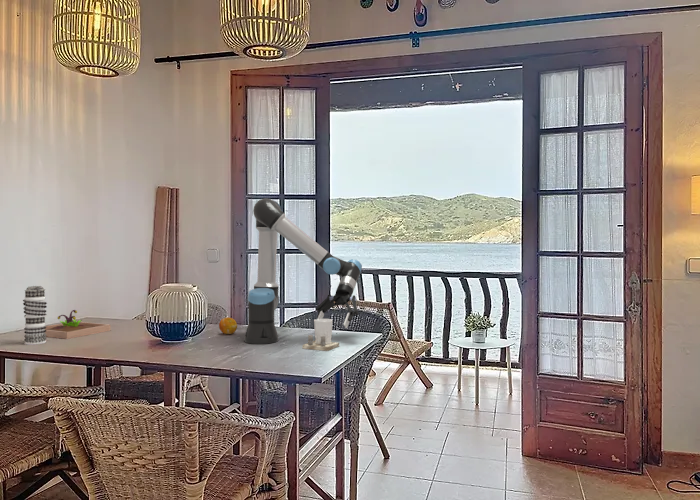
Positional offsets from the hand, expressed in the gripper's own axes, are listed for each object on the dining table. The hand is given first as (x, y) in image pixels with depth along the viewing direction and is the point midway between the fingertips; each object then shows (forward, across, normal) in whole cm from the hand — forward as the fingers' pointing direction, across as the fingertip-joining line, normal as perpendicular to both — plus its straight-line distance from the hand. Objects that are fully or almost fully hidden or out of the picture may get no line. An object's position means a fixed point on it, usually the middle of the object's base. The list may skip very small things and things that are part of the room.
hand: (331, 325), depth 247 cm
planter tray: (+26, +128, +16) cm, 132 cm away
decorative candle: (+44, +119, +34) cm, 132 cm away
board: (+12, 0, +1) cm, 12 cm away
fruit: (+6, +56, -6) cm, 57 cm away
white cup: (+10, 0, 0) cm, 10 cm away
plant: (+26, +129, +15) cm, 133 cm away
